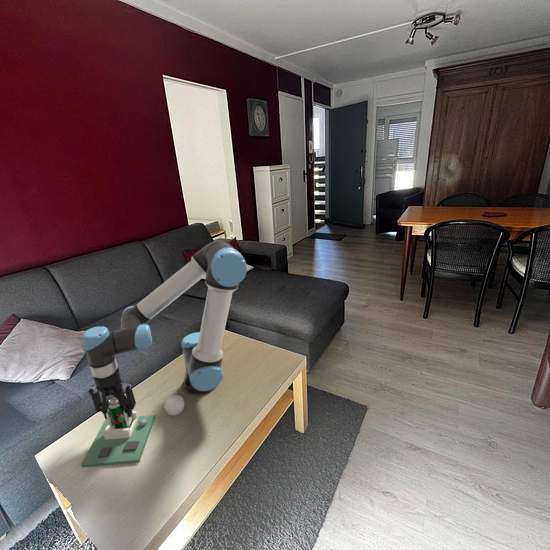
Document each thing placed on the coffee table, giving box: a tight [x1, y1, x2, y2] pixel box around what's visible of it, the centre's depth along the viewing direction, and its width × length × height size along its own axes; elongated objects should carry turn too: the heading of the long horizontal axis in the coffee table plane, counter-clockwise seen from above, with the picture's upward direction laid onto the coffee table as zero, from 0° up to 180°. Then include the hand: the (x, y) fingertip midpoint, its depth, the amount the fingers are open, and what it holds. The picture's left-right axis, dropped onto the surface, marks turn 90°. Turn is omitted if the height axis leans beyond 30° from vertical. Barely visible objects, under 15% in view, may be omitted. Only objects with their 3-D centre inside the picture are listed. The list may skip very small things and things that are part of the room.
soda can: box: [108, 396, 128, 429], centre depth 107 cm, size 5×5×12 cm
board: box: [80, 410, 156, 468], centre depth 105 cm, size 18×18×5 cm
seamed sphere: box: [156, 394, 185, 416], centre depth 115 cm, size 10×7×7 cm
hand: (121, 423), depth 108 cm, fingers open, 5 cm apart
